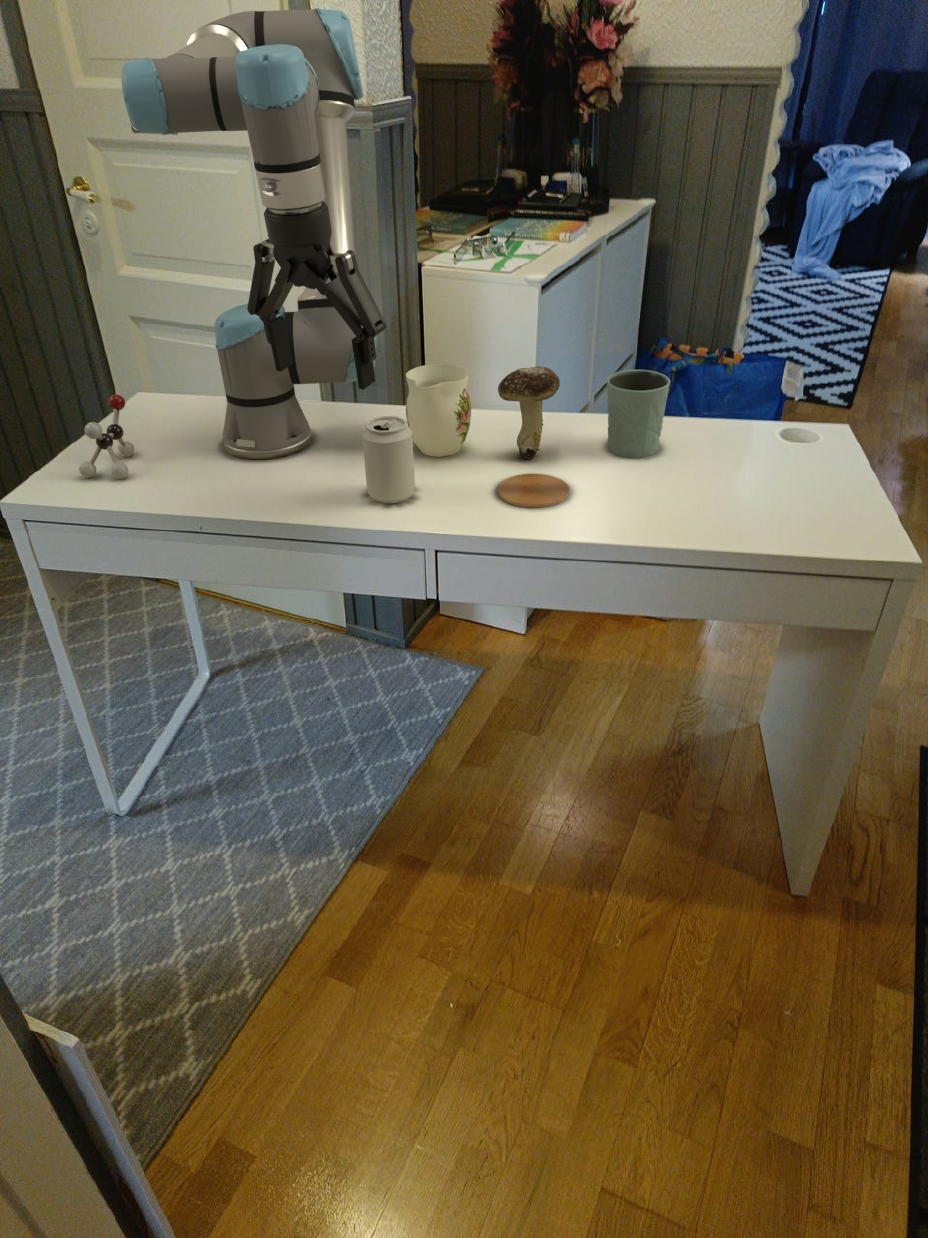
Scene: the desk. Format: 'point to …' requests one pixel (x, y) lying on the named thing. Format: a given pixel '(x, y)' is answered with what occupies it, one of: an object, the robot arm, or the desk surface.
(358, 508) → the desk surface
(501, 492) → the coaster
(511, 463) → the desk surface
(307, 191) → the robot arm
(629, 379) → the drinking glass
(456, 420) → the pitcher
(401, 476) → the can
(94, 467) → the molecular model
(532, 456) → the mushroom
